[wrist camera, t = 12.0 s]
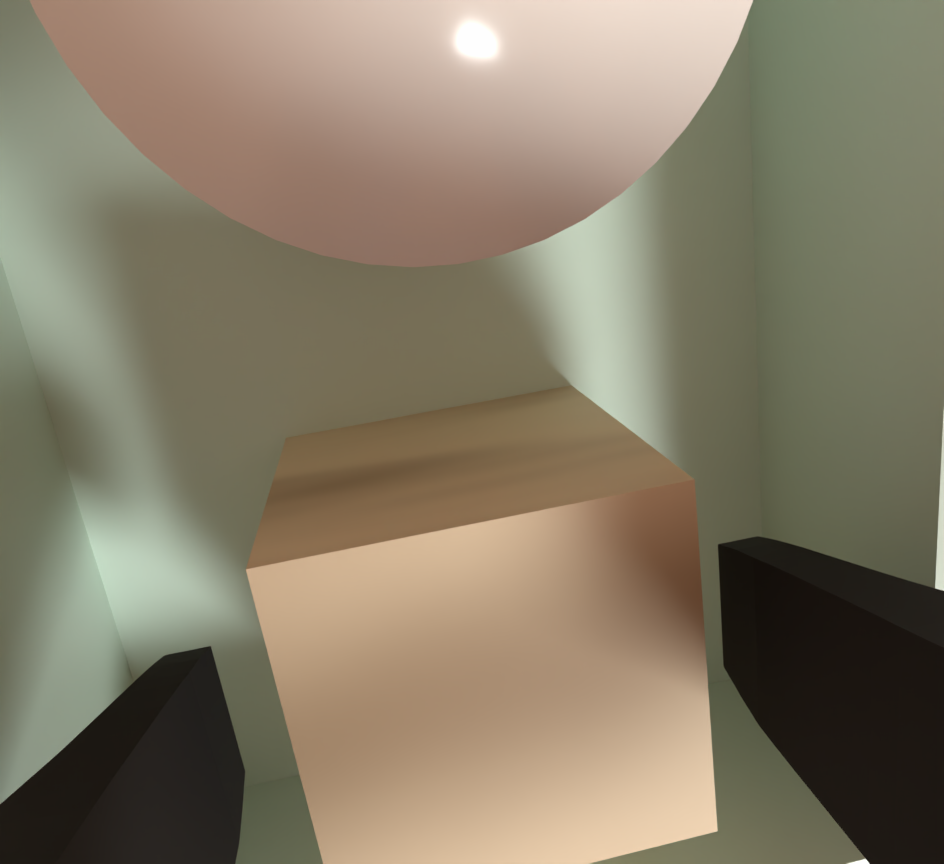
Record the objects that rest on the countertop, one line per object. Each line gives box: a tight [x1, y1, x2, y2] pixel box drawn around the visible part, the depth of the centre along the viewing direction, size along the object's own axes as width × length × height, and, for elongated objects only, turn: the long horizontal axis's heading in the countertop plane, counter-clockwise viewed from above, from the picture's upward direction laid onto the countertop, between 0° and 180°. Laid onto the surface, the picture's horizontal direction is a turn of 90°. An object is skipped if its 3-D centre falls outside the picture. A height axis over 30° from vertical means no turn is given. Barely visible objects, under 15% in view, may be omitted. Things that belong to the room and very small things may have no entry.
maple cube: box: [246, 385, 718, 864], centre depth 11 cm, size 5×5×5 cm
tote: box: [0, 0, 944, 864], centre depth 11 cm, size 17×13×5 cm
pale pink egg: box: [30, 0, 753, 267], centre depth 8 cm, size 5×5×7 cm
